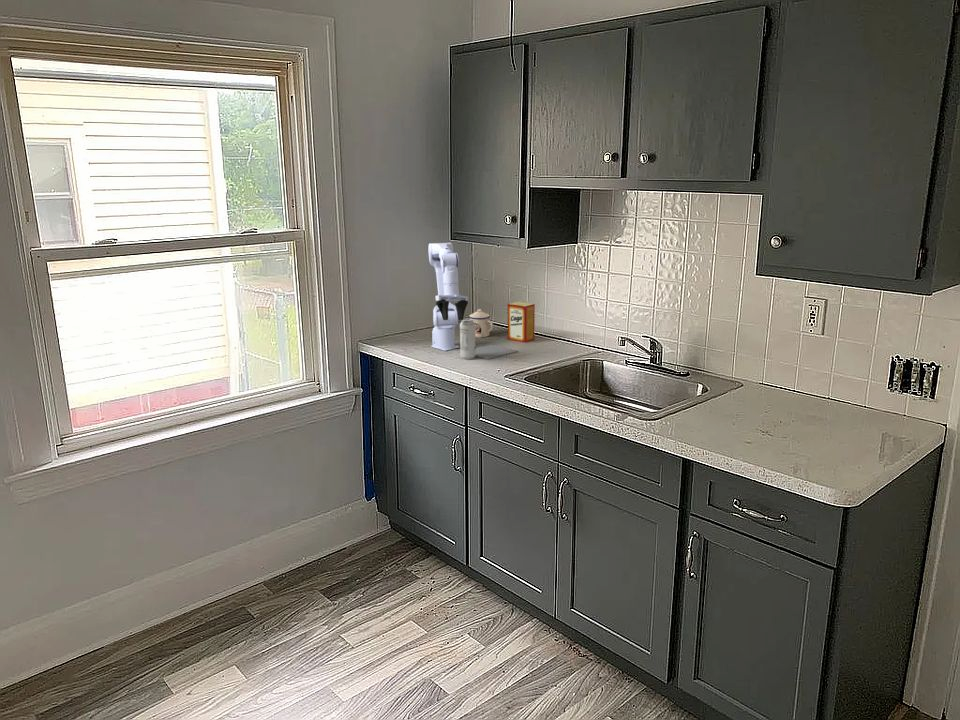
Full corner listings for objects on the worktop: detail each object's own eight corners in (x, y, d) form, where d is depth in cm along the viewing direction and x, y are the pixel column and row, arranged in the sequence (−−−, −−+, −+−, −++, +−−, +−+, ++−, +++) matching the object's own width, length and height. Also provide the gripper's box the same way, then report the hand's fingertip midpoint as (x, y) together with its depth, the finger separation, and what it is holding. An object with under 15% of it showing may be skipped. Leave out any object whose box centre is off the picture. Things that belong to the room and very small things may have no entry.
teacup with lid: (465, 335, 328) (464, 309, 325) (478, 331, 335) (478, 306, 332) (486, 339, 321) (486, 313, 318) (499, 335, 327) (499, 309, 324)
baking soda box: (507, 339, 321) (507, 303, 316) (516, 336, 326) (516, 300, 321) (525, 342, 315) (525, 305, 311) (534, 339, 320) (534, 303, 315)
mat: (462, 352, 300) (462, 351, 300) (492, 345, 311) (492, 344, 311) (487, 359, 289) (487, 358, 289) (518, 351, 300) (518, 350, 300)
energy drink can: (478, 358, 291) (477, 321, 287) (465, 360, 289) (464, 323, 285) (470, 355, 296) (470, 318, 292) (457, 357, 294) (456, 320, 290)
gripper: (443, 282, 275) (445, 318, 275) (472, 283, 285) (474, 319, 285) (431, 285, 281) (433, 320, 280) (460, 286, 290) (462, 320, 290)
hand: (453, 320), depth 283 cm, fingers open, 7 cm apart
